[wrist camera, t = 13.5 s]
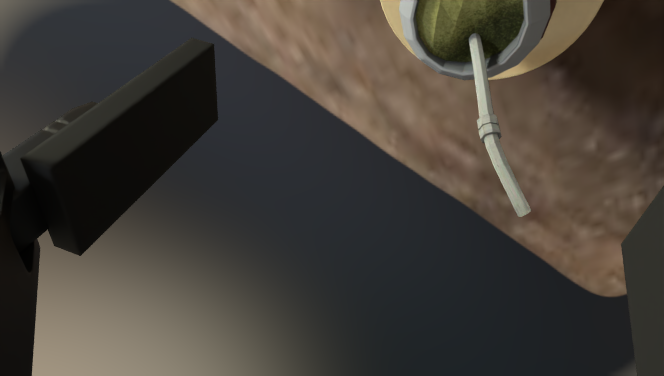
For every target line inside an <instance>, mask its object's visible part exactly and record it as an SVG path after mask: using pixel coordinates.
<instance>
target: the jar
mask: <svg viewBox="0 0 664 376" xmlns="http://www.w3.org/2000/svg"><path fill="white" fill-rule="evenodd" d="M380 1H381V5H382V8H383V11H384V13H385V16H386V18H387V20H388V22H389V24H390V26H391V28H392V29H393V31H394V33H395V34H396V35H397V37H398V38H399V40H400V41H401V42H402V43H403V44H404V46H405V47H406V48H407V49H408V50H409V51H410V52H411V53H413V54H414V55H415V56H416V54H415V53H414V51H413V50H412V48H411V46H410V45H409V43H408V42H407V40H406V39H405V37H404V33H403V28H402V23H401V17H400V12H399V6H400V0H380ZM603 1H604V0H557V3H556V6H555V9H554V11H553V14H552V16H551V19H550V21H549V24H548V26H547V29H546V31H545V34H544V36H543V38H542V39H541V40H540V42H539V43H538V45H537V46H536V47H535V48H534V49H533V50H532V51H531V52H530V53H529V54H528V55H527V56H526V57H525V58H524V59H523V60H522V61H521V62H520V63H519V64H518V65H517V66H515V67H512V68H510V69H508V70H506V71H504V72H502V73H500V74H498V75H496V76H494V77H491V78H488V80H496V79H502V78H509V77H513V76H516V75H520V74H523V73H526V72H528V71H531V70H533V69H536V68H538V67H540V66H542V65H544V64H546V63H547V62H549V61H551V60H552V59H554V58H555V57H557V56H558V55H560V54H561V53H562V52H564V51H565V50H566V49H567V48H568V47H569V46H571V45H572V44H573V43H574V42H575V41H576V40H577V39H578V38H579V37H580V36H581V34H582V33H583V32H584V31H585V30H586V29H587V27H588V26H589V25H590V23H591V22H592V20H593V19H594V18H595V16H596V14H597V12H598V11H599V9H600V7H601V5H602V3H603ZM416 57H417V56H416ZM417 58H418V57H417ZM474 80H475V79H474Z"/></svg>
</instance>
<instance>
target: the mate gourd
mask: <svg viewBox="0 0 664 376" xmlns="http://www.w3.org/2000/svg"><path fill="white" fill-rule="evenodd" d="M556 3H557V0H400V6H399V12H400V17H401V23H402V28H403V33H404V37H405V39H406V40H407V42H408V43H409V45H410V46H411V48H412V50H413V51H414V53H415V54H416V56H417V57H418V59H420V60H421V61H423V62H424V63H425V64H427V65H428V66H429V67H431V68H432V69H434V70H435V71H436V72H438V73H439V74H443V75H447V76H451V77H455V78H458V79H462V80H471V79H475V85H476V92H477V100H478V108H479V116H480V118H479V119H478V120H477V124H478V130H479V135H480V139H481V141H482V143H485V145H486V148H487V151H488V153H489V156H490V158H491V161H492V163H493V165H494V168H495V170H496V172H497V174H498V176H499V178H500V180H501V182H502V184H503V186H504V188H505V190H506V192H507V195H508V197H509V199H510V201H511V203H512V205H513V207H514V209H515V211H516V213H517V215H518V216H519V217H521V216H524V215H526V214H528V213H529V212H530V211H531V209H530V207H529V205H528V203H527V201H526V199H525V197H524V195H523V193H522V191H521V189H520V187H519V185H518V183H517V181H516V179H515V177H514V174H513V172H512V170H511V168H510V166H509V164H508V162H507V160H506V157H505V155H504V152H503V150H502V147H501V145H500V141H499V139H500V138H501V132H500V129H499V124H498V120H497V117H496V115H494V113H493V107H492V100H491V94H490V88H489V82H488V78H491V77H494V76H496V75H498V74H500V73H502V72H504V71H506V70H508V69H510V68H512V67H515V66H517V65H518V64H519V63H520V62H521V61H522V60H523V59H524V58H525V57H526V56H527V55H528V54H529V53H530V52H531V51H532V50H533V49H534V48H535V47H536V46H537V45H538V43H539V42H540V40H541V39H542V38H543V36H544V34H545V31H546V29H547V26H548V24H549V21H550V19H551V16H552V14H553V11H554V9H555V6H556Z"/></svg>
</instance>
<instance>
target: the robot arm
mask: <svg viewBox="0 0 664 376" xmlns="http://www.w3.org/2000/svg"><path fill="white" fill-rule="evenodd" d="M216 93H217V92H216V74H215V55H214V44H212V43H208V42H204V41H201V40H197V39H194V38H191V39H189V40H188V41H187V42H185V43H184V44H182V45H181V46H179V47H178V48H177V49H175V50H174V51H172V52H171V53H170V54H168V55H167V56H165V57H164V58H162V59H161V60H159V61H158V62H157V63H155V64H154V65H152V66H151V67H150V68H148V69H147V70H145V71H144V72H142V73H141V74H139V75H138V76H137V77H135V78H134V79H132V80H131V81H130V82H128V83H127V84H125V85H124V86H122V87H121V88H119V89H118V90H117V91H115V92H114V93H112V94H111V95H109V96H108V97H107V98H105V99H104V100H102V101H101V102H99V103H95V102H90V103H87V104H84V105H81V106H79V107H76V108H73V109H71V110H70V111H68V112H67V113H65V114H64V115H62V116H61V117H59V118H58V119H57V121H56V122H55V121H53V122H52V123H50V124H49V125H47V126H46V127H45V128H44V130H40V131H38V132H37V133H35V134H34V135H33V136H31V137H30V138H28V139H27V140H25V141H24V142H22V143H21V144H19V145H18V146H16V147H15V148H13V149H12V150H10V151H9V152H7V153H6V154H4V155H3V156H2V154H1V152H0V376H32V362H33V347H34V333H35V317H36V302H37V288H38V273H39V258H40V246H39V242H38V240H37V238H38V237H39V236H41V235H42V234H43V233H44V232H45V231H46V230H47V229H48V231H49V234H50V236H51V239H52V241H53V244H54V246H56V247H59V248H61V249H64V250H66V251H69V252H72V253H74V254H77V255H79V256H81V255H82V254H83V253H84V252H85V251H86V250H87V249H88V248H89V247H90V246H91V245H92V244H93V243H94V242H95V241H96V240H97V239H98V238H99V237H100V236H101V235H102V234H103V233H104V232H105V231H106V230H107V229H108V228H109V227H110V226H111V225H112V224H113V223H114V222H115V221H116V220H117V219H118V218H119V217H120V216H121V215H122V214H123V213H124V212H125V211H126V210H127V209H128V208H129V207H130V206H131V205H132V204H133V203H134V202H135V201H136V200H137V199H138V198H140V196H141V195H143V194H144V193H145V192H146V190H148V189H149V188H150V187H151V186H152V185H153V184H154V183H155V182H156V181H157V180H158V179H159V178H160V177H161V176H162V175H163V174H164V173H165V172H166V171H167V170H168V169H169V168H170V167H171V166H172V165H173V164H174V163H175V162H176V161H177V160H178V159H179V158H180V157H181V156H182V155H183V154H184V153H185V152H186V151H187V150H188V149H189V148H190V147H191V146H192V145H193V144H194V143H195V142H196V141H197V140H198V139H199V138H200V137H201V136H202V135H203V134H204V133H205V132H206V131H207V130H208V129H209V128H210V127H211V126H212V125H213V124H214V123H215V122H216V121H217V120H218V112H217V94H216ZM621 247H622V255H623V264H624V272H625V280H626V288H627V297H628V304H629V313H630V321H631V329H632V337H633V346H634V354H635V362H636V371H637V376H664V186H663V188H662V189H661V190H660V192H659V193H658V194H657V196H656V197H655V199H654V200H653V201H652V203H651V204H650V205H649V207H648V208H647V210H646V211H645V212H644V214H643V215H642V216H641V218H640V219H639V220H638V222H637V223H636V225H635V226H634V227H633V229H632V230H631V231H630V233H629V234H628V235H627V237H626V238H625V240H624V241H623V242H622V244H621Z"/></svg>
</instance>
